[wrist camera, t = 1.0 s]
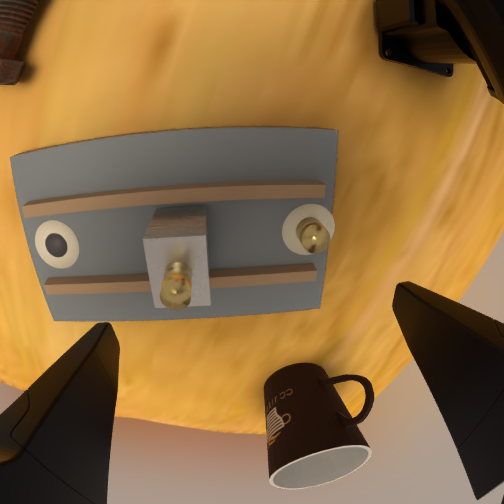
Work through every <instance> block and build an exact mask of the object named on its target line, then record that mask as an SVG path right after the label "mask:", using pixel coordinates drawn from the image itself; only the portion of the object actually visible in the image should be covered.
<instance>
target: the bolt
mask: <svg viewBox="0 0 504 504" xmlns="http://www.w3.org/2000/svg"><path fill="white" fill-rule="evenodd" d="M38 1H40V0H0V85H15V84H16V83H17V82H18V80H19V77H20V75H21V72H22V69H23V67H24V64H25V62H22V61H18V60H14V58H15V55H16V53H17V50H18V48H19V45H20V43H21V41H22V38H23V33H24V29H25V28H26V27H27V26H26V25H25V24H28V23H29V21H28V20H27V19H31V16H30V15H32V14H33V13H34V12H33V11H32V10H35V9H36V7H35V6H37V5H38Z"/></svg>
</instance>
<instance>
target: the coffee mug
mask: <svg viewBox="0 0 504 504" xmlns="http://www.w3.org/2000/svg"><path fill="white" fill-rule="evenodd" d="M349 380H354V381H358V382H360V383H361V384H362V385H363V387H364V389H365V394H366V398H365V403H364V406H363V409H362V411H361V412H360V413H359V414H358V415H357V416H356V417H354V418H352V416H351V415H350V413H349V411H348V410H347V408H346V406H345V405H344V403H343V401H342V399H341V398H340V396H339V394H338V393H337V391H336V389H335V388H334V386H333V384H336V383H340V382H345V381H349ZM264 399H265V416H266V432H267V449H268V465H269V481H270V484H271V485H272V486H274V487H277V488H280V489H304V488H310V487H315V486H319V485H323V484H326V483H329V482H332V481H335V480H338V479H340V478H342V477H344V476H346V475H348V474H350V473H352V472H354V471H355V470H357V469H358V468H360V467H361V466H362V465H364V464H365V463H366V462H367V461H368V459H369V458H370V456H371V454H372V451H371V449H370V447H369V445H368V443H367V442H366V440H365V438H364V437H363V435H362V433H361V432H360V430H359V428H358V427H357V424H359V423H361V422H363V421H364V420H365V418H366V417H367V416H368V414H369V412H370V411H371V408H372V406H373V402H374V392H373V388H372V384H371V382H370V381H369V380H368V379H367V378H365V377H363V376H359V375H347V374H346V375H341V376H337V377H333V378H328V376H327V374H326V372H325V371H324V369H323V368H322V367H320V366H318V365H316V364H312V363H298V364H293V365H290V366H286V367H284V368H282V369H280V370H278V371H276V372H275V373H274V374H272V375H271V376H270V377H269V378H268V379H267V381H266V383H265V385H264Z"/></svg>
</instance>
